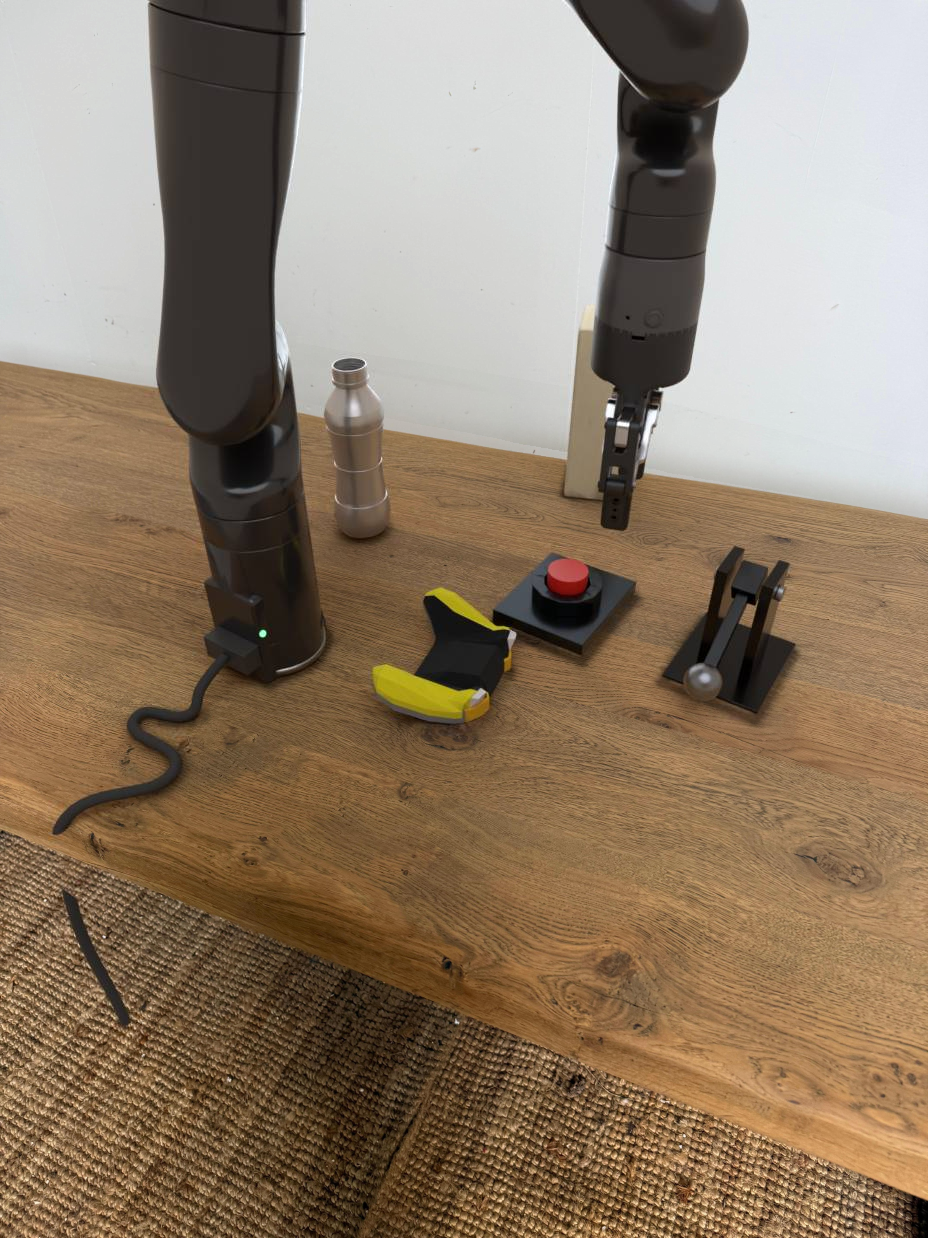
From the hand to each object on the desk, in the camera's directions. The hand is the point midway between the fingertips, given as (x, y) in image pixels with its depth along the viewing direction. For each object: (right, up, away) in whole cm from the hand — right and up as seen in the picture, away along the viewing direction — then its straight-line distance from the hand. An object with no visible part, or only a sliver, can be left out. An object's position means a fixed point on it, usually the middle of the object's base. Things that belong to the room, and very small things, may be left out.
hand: (622, 501), depth 73 cm
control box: (-3, -9, +15) cm, 18 cm away
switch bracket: (+12, -15, +9) cm, 20 cm away
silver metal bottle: (-25, 0, +28) cm, 37 cm away
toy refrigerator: (+3, +7, +36) cm, 36 cm away
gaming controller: (-15, -16, +7) cm, 23 cm away
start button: (-3, -6, +13) cm, 15 cm away
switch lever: (+10, -12, +2) cm, 15 cm away
